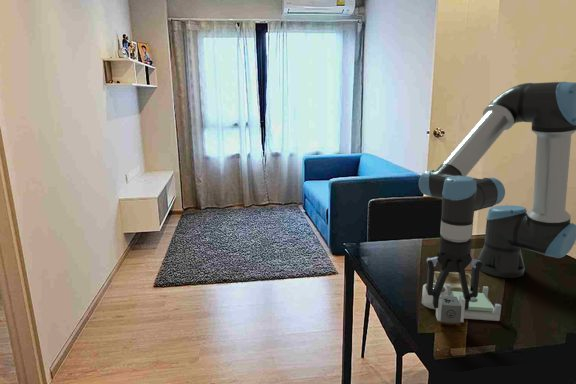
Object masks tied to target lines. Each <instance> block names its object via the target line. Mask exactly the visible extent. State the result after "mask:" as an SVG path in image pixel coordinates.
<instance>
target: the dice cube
mask: <svg viewBox="0 0 576 384" xmlns="http://www.w3.org/2000/svg"><path fill="white" fill-rule="evenodd" d="M441 297H442V309H441V321H439V322H440V323H451V324H453V323H455V324H456V323H458V324H461V322H460V318H461V304H460V302H459V300H458V298H457V297H453V296H441Z"/></svg>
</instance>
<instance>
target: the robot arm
mask: <svg viewBox="0 0 576 384" xmlns="http://www.w3.org/2000/svg"><path fill="white" fill-rule="evenodd" d="M522 122H523V123H531V132H533V133H534V134H535V135H536V144H535V145H536V147H535V148H536V149H535V165H534V168H535V169H534V182H533V183H534V184H533V198H532V199H533V202H532V208H531V209H529V210H527V208H526V207H524V206H521V205H511V204H510V205H508V204H507V205H505V204H504V205H498V204H500V203H501V202H502V201H503V200H504V199H505V196H506V188H505V185H504V184H503V183H502V181H501V180H499V179H498V178H495V177H483V178H476V177H472V176H468V175H469V173H470V172H471V171H472V170H473V169H474V167H475V166H476V165H477V164H478V163H479V162H480V160H481V159H482V158H483V157H484V155H485V154H486V153H487V152H488V150H489V149H490V148H491V147H492V146H493V145H494V143H495V142H496V141H497V140H498V138H500V137H501V135H502V134H503V133H504V131H507V130H510V129H511V128H512V127H513V126H514V125H515V124H517V123H522ZM574 133H576V82H575V81H574V82H571V81H554V82H553V81H552V82H550V81H549V82H526V83H521V84H517V85H515V86H513V87H511V88H509V89H507V90H505V91H504V92H502V93H501V94H499V95H498V96H496V97H495V98H494V99H493V100H492V101H491V102H490V103H489V104H488V105H487V106H486V107H485V108H484V109H483V111H482V117H481V118H480V119H479V120H478V121H477V122H476V124H475V125H473V127H472V128H471V130H469V132H468V133H467V134H466V135H465V137H463V139H462V140H461V141H460V142H459V143H458V145H457V146H456V147H455V148H454V149H453V150H452V151H451V153H450V154H448V156H447V157H446V158H445V160H443V162H442V163H441V164H440V165H439V167H437V168H436V169H435V170H434V169H431V170H430V169H429V170H425V171H424V172H422V174H421V175H420V177H419V179H418V189H419V191H420V192H421V193H422V195H425V196H428V197H431V198H433V199H435V198H436V199H440V200H441V201H442V202H441V217H440V228H439V229H440V232H439V233H440V237H439V244H438V245H439V247H438V253H437V254H436V256H433V257H430V256H428V257H426V258H425V261H426V264H427V273H426V274H427V275H426V284H427V285H426V290H427V293H428V295H432V296H433V306H434V308H436V309H435V317H436V320H437V322H440V321H441V309H442V297H441V295H440V294H441V291H442V288H443V286H444V283H445V280H446V278H447V276H448V274H449V272H453V273H459V278H460V282H461V287H462V292H463V295H460V297H459V302H460V304H461V318H460V323H464V319H465V318H464V310H465V309H466V310H468V308H469V301H470V300H471V297H477V296H478V287H479V282H480V281H479V279H480V272H482V273H485V274H487V275H490V276H494V277H498V278H504V279H505V278H506V279H515V278H520V277H523V276H524V274H525V262H524V260H523V256H522V255H523V254H522V249H524V250H527V251H531V252H535V253H537V254H541V255H544V256H546V257H551V258H556V259H560V258H564V257H565V256H567V255H568V253H570V251H571V249H572V248H573V247H574V245H575V243H576V224H575V223H574V222H571V218H572V217H571V214H570V213H569V212H568V211H567V210H566V206H567V193H568V192H567V191H568V183H569V181H568V180H569V170H570V169H569V168H570V158H571V157H570V156H571V145H572V144H571V143H572V135H574ZM487 208H489V210H488V211H487V217H486V222H485V223H486V225H485V235H484V244H483V247H482V249H481V251H480V253H479V255H478V257H477V258H473V257H472V255H471V253H472V252H471V251H472V238H473V230H474V228H473V226H474V216H475V212H477V211H480V210H485V209H487ZM437 263H439V265H440V266H441V267H440V271H439V272H440V274H439V276H438V279H437V282H436V285H435V287H434V290H433V282H434V272H435V267H436V266H437ZM469 265H470V266H471V272H470V275H471V286H470V291H469V290H468V285H467V280H466V274H465V273H466V270H465V269H466V268H467V267H468V266H469Z"/></svg>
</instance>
